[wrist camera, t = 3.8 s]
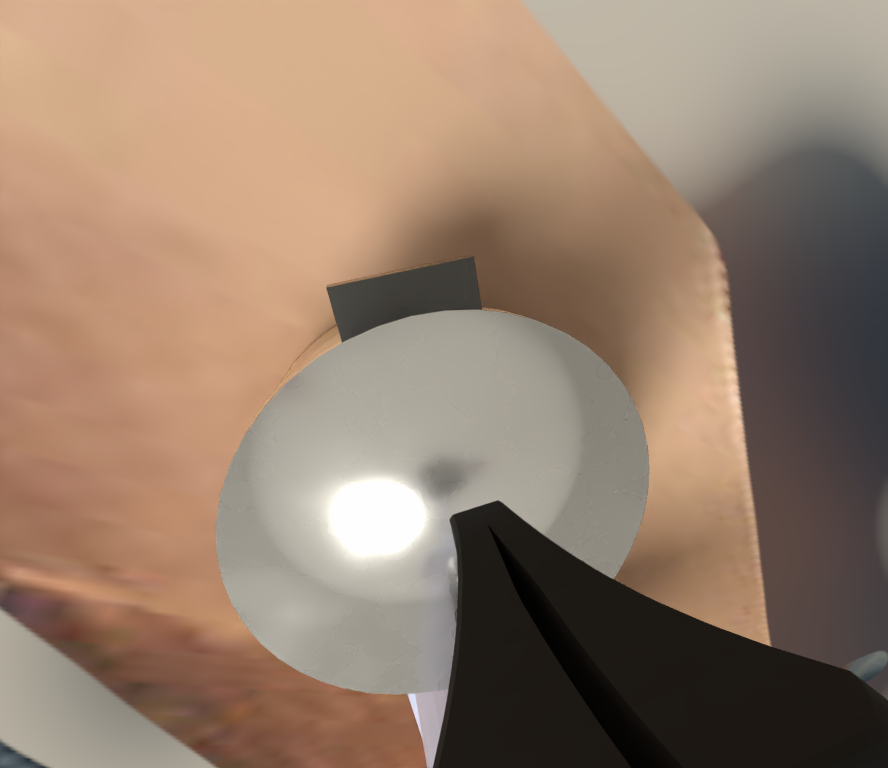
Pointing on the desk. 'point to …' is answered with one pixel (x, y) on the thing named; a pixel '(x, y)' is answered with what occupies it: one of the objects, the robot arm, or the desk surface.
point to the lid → (417, 474)
